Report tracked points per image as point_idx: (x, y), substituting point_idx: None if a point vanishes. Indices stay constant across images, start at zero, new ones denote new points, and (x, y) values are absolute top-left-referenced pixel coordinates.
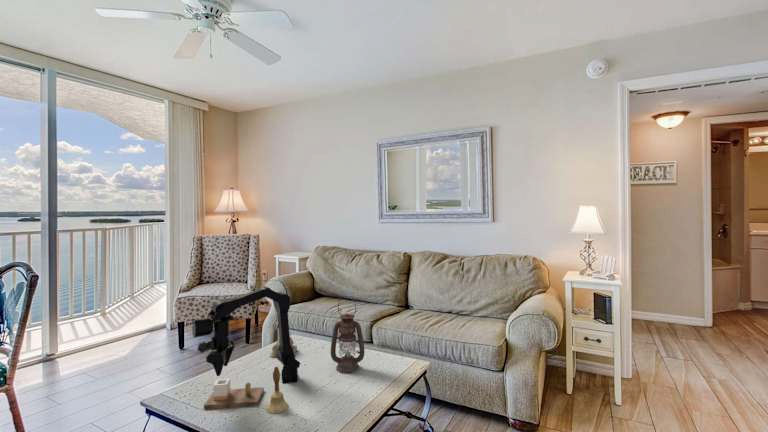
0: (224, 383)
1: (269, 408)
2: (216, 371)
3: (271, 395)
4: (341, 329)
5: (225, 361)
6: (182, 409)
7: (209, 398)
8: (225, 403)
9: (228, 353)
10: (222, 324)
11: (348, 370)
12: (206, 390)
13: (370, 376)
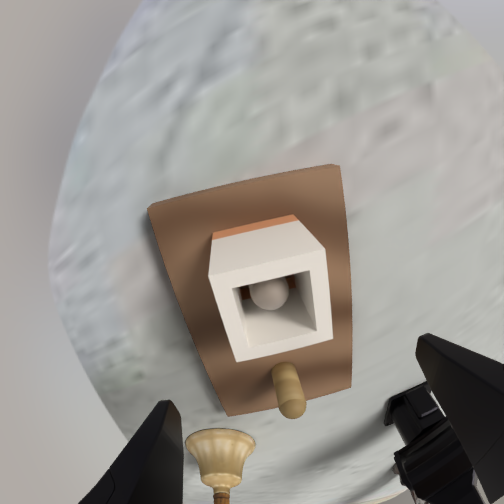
0: (306, 295)
1: (195, 445)
2: (136, 446)
3: (210, 475)
4: None
5: (444, 379)
6: (140, 81)
7: (232, 192)
8: (187, 316)
9: (486, 454)
10: None
11: (396, 471)
12: (369, 97)
13: (366, 489)
